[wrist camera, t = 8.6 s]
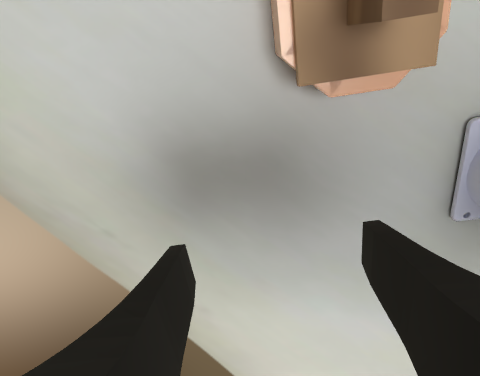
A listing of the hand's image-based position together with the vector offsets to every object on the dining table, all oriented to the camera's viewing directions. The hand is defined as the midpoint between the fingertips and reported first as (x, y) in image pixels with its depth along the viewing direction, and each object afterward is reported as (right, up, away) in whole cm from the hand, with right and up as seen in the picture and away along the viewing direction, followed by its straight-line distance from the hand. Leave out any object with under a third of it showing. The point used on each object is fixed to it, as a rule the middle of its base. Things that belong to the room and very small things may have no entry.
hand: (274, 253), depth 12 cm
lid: (+5, +12, +2) cm, 13 cm away
